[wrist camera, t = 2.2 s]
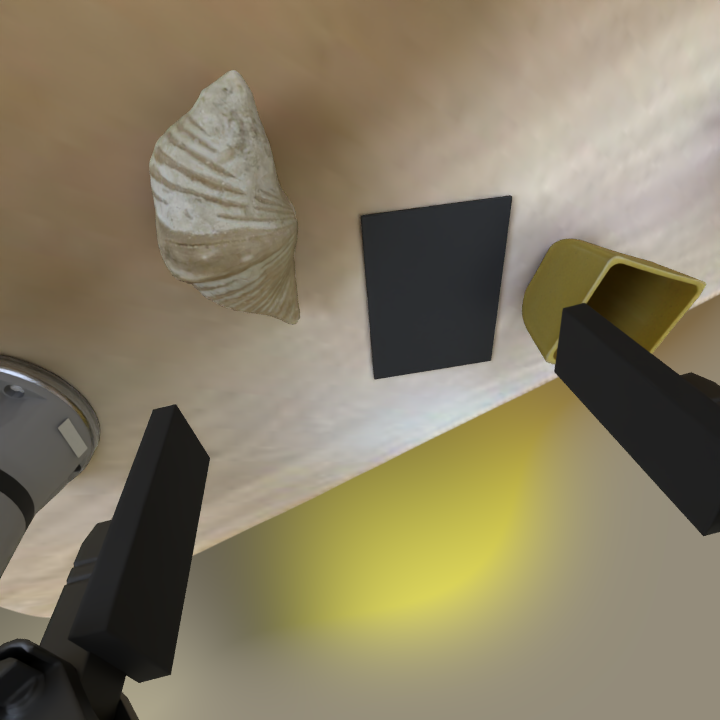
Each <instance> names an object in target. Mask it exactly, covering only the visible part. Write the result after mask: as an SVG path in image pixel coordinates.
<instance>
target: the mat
mask: <svg viewBox="0 0 720 720" xmlns="http://www.w3.org/2000/svg"><path fill="white" fill-rule="evenodd" d="M511 203H512V196H503V197H496V198H488V199H481V200H473V201H466V202H458V203H451V204H443V205H436V206H428V207H421V208H413V209H406V210H398V211H391V212H383V213H376V214H368V215H361V227H362V239H363V251H364V263H365V275H366V287H367V298H368V310H369V322H370V334H371V346H372V358H373V370H374V379H381V378H387V377H393V376H399V375H405V374H411V373H418V372H424V371H430V370H436V369H442V368H448V367H455V366H461V365H467V364H473V363H479V362H485V361H491V356H492V348H493V341H494V333H495V325H496V318H497V310H498V302H499V295H500V287H501V279H502V272H503V264H504V256H505V249H506V241H507V233H508V226H509V218H510V211H511Z"/></svg>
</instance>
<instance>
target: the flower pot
mask: <svg viewBox="0 0 720 720" xmlns="http://www.w3.org/2000/svg"><path fill="white" fill-rule="evenodd" d="M705 286H706V283H705V282H703V281H701V280H698V279H695V278H693V277H690V276H688V275H685V274H682V273H680V272H677V271H674V270H672V269H669V268H667V267H664V266H661V265H659V264H656V263H653V262H651V261H647V260H644V259H640V258H636V257H633V256H629V255H626V254H622V253H619V252H615V251H612V250H609V249H606V248H603V247H600V246H597V245H594V244H591V243H588V242H585V241H581V240H577V239H563V240H560V241H558V242H556V243H554V244H553V245H552V246H551V247H550V248H549V250H548V252H547V254H546V255H545V257H544V259H543V261H542V262H541V264H540V266H539V268H538V270H537V271H536V273H535V275H534V277H533V278H532V280H531V282H530V284H529V285H528V287H527V289H526V291H525V294H524V299H523V304H522V315H523V320H524V324H525V326H526V328H527V330H528V332H529V334H530V336H531V337H532V339H533V341H534V342H535V344H536V346H537V347H538V349H539V350H540V352H541V354H542V355H543V357H544V359H545V361H546V362H548V363H551V364H555V363H556V355H557V348H558V340H559V333H560V325H561V317H562V310H563V308H565V307H570V306H574V305H578V304H582V303H586V304H587V305H589V306H590V307H591V308H592V309H594V310H595V311H596V312H598V313H599V314H600V315H602V316H603V317H604V318H606V319H607V320H608V321H609V322H611V323H612V324H613V325H615V326H616V327H617V328H619V329H620V330H621V331H623V332H624V333H625V334H626V335H628V336H629V337H630V338H632V339H633V340H634V341H636V342H637V343H638V344H640V345H641V346H642V347H643V348H645V349H646V350H647V351H649V352H650V353H651V354H652V353H653V352H654V351H655V349H656V348H657V347H658V346H659V344H660V343H661V342H662V341H663V339H664V338H665V337H666V336H667V334H668V333H669V332H670V331H671V330H672V328H673V327H674V326H675V325H676V324H677V322H678V321H679V320H680V319H681V318H682V316H683V315H684V314H685V313H686V312H687V310H688V309H689V308H690V307H691V306H692V304H693V303H694V302H695V301H696V299H697V298H698V297H699V296H700V294H701V293H702V291H703V289H704V288H705Z"/></svg>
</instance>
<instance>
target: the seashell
mask: <svg viewBox="0 0 720 720" xmlns="http://www.w3.org/2000/svg"><path fill="white" fill-rule="evenodd" d="M149 172H150V176H151V190H152V194H153V198H154V207H155V210H156V220H155V221H156V230H157V239H158V245H159V249H160V252H161V255H162V258H163V260H164V262H165V264H166V266H167V268H168V269H169V270H170V272H171V273H172V275H173V276H174V277H175V278H176V279H178V280H180V281H183V282H186V283H189V284H192V285H193V286H194V287H195V288H196V289H197V290H199V291H200V292H201V293H202V295H203V296H204V297H206V298H207V299H209V300H212V301H214V302H215V303H217V304H218V305H220V306H222V307H227V308H231V309H233V310H236V311H242V312H246V313H256V314H263V315H267V316H272V317H275V318H277V319H280V320H282V321H284V322H286V323H288V324H292V325H294V324H296V323H297V322H298V320H299V318H300V309H299V303H298V295H297V285H296V278H295V261H294V252H295V247H296V242H297V233H298V222H297V219H296V216H295V209H294V207H293V205H292V203H291V201H290V200H289V198H288V197H287V195H286V194H285V192H284V191H283V190H282V189H281V186H280V183H279V180H278V177H277V173H276V169H275V164H274V160H273V155H272V151H271V148H270V144H269V140H268V138H267V136H266V134H265V131H264V128H263V125H262V123H261V121H260V118H259V115H258V111H257V108H256V105H255V101H254V98H253V94H252V92H251V90H250V88H249V87H248V85H247V83H246V82H245V80H244V79H243V77H242V76H241V75H240V74H239V73H238V72H237V71H235V70H232V71H229V72H227V73H226V74H224V75H223V76H222V77H220V78H219V79H218V80H216V81H215V82H214V83H212V84H211V85H209V86H208V87H206V88H205V89H203V90H202V92H201V94H200V96H199V98H198V100H197V101H196V103H195V105H194V106H193V108H192V109H191V110H190V111H189V112H188V113H186V114H185V115H184V116H182V117H181V118H180V119H179V120H178V121H177V122H176V123H175V124H173V125H172V126H171V127H169V128H168V129H167V131H166V132H165V133H164V134H163V135H162V136H161V137H160V138H159V139H158V141H157V143H156V145H155V148H154V151H153V154H152V157H151V159H150V162H149Z"/></svg>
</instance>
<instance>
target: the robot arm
mask: <svg viewBox="0 0 720 720" xmlns="http://www.w3.org/2000/svg"><path fill="white" fill-rule="evenodd" d="M554 372H555V373H556V374H557V375H558V376H559V377H560V379H562V381H563V382H564V383H565V384H566V385H567V386H568V387H569V388H570V390H571V391H572V392H573V393H574V394H575V395H576V396H577V397H578V398H579V399H580V401H581V402H582V403H583V404H584V405H585V406H586V407H587V408H588V409H589V410H590V412H591V413H592V414H593V415H594V416H595V417H596V418H597V419H598V420H599V422H600V423H601V424H602V425H603V426H604V427H605V428H606V429H607V430H608V431H609V433H610V434H611V435H612V436H613V437H614V438H615V439H616V440H617V441H618V442H619V444H620V445H621V446H622V447H623V448H624V449H625V450H626V451H627V452H628V454H629V455H631V457H632V458H633V459H634V460H635V461H636V462H637V463H638V465H640V467H641V468H642V469H643V470H644V471H645V472H646V473H647V474H648V476H649V477H650V478H651V479H652V480H653V481H654V482H655V483H656V484H657V486H659V488H660V489H661V490H662V491H663V492H664V493H665V494H666V495H667V497H668V498H669V499H670V500H671V501H672V502H673V503H674V504H675V505H676V506H677V508H678V509H679V510H680V511H681V512H682V513H683V514H684V515H685V516H686V517H687V519H688V520H689V521H690V522H691V523H692V524H693V525H694V526H695V527H696V528H697V530H698V531H699V532H700V533H701V534H702V535H703V536H706V535H710V534H713V533H717V532H720V386H719V385H717V384H716V383H715V382H713V381H711V380H708V379H706V378H703V377H701V376H699V375H696V374H694V373H688V374H683V375H679V374H677V373H676V372H675V371H673V370H672V369H671V368H670V367H668V366H667V365H666V364H664V363H663V362H662V361H660V360H659V359H658V358H656V357H655V356H654V355H653V354H651V353H650V352H649V351H647V350H646V349H645V348H643V347H642V346H641V345H640V344H638V343H637V342H636V341H634V340H633V339H632V338H630V337H629V336H628V335H626V334H625V333H624V332H623V331H621V330H620V329H619V328H617V327H616V326H615V325H613V324H612V323H611V322H609V321H608V320H607V319H606V318H604V317H603V316H602V315H600V314H599V313H598V312H596V311H595V310H594V309H592V308H591V307H590V306H589V305H587V304H586V303H582V304H578V305H574V306H570V307H565V308H563V310H562V317H561V325H560V333H559V340H558V348H557V355H556V363H555V370H554ZM99 438H100V427H99V422H98V419H97V417H96V414H95V412H94V410H93V409H92V407H91V406H90V404H89V403H88V402H87V400H86V399H85V398H84V397H83V396H82V395H81V394H80V393H79V392H78V391H77V390H76V389H74V388H73V387H72V386H71V385H69V384H68V383H67V382H65V381H64V380H62V379H61V378H59V377H57V376H56V375H54V374H52V373H50V372H48V371H46V370H44V369H42V368H40V367H38V366H35V365H33V364H30V363H27V362H25V361H22V360H18V359H15V358H11V357H7V356H3V355H0V578H1V576H2V574H3V572H4V571H5V569H6V567H7V565H8V563H9V561H10V559H11V558H12V556H13V554H14V552H15V550H16V548H17V546H18V544H19V543H20V541H21V539H22V537H23V535H24V533H25V532H26V530H27V528H28V526H29V524H30V523H31V521H32V519H33V517H34V516H35V514H36V513H37V512H38V511H39V510H40V509H41V508H43V507H44V506H45V505H46V504H47V503H48V502H49V501H50V500H51V499H52V498H53V497H54V496H56V495H57V494H58V493H59V492H60V491H61V490H62V489H63V488H64V487H65V486H66V484H67V483H68V482H70V481H71V480H73V479H74V478H75V477H76V476H77V475H78V474H80V473H81V472H82V471H83V470H84V469H85V467H86V466H87V465H88V463H89V461H90V459H91V457H92V455H93V453H94V451H95V449H96V447H97V445H98V442H99ZM209 461H210V457H209V456H208V454H207V452H206V451H205V449H204V448H203V446H202V445H201V443H200V441H199V440H198V438H197V437H196V435H195V433H194V432H193V430H192V429H191V427H190V425H189V424H188V422H187V421H186V419H185V418H184V416H183V414H182V413H181V411H180V410H179V408H178V406H177V405H176V404H175V405H171V406H166V407H162V408H158V409H154V410H153V411H152V414H151V417H150V419H149V422H148V425H147V427H146V430H145V433H144V435H143V438H142V441H141V443H140V446H139V449H138V451H137V454H136V457H135V459H134V462H133V465H132V467H131V470H130V473H129V475H128V478H127V481H126V483H125V486H124V489H123V491H122V494H121V497H120V499H119V502H118V505H117V507H116V510H115V513H114V515H113V518H112V520H109V521H105V522H101V523H97V524H96V526H95V527H94V528H93V530H92V531H91V532H90V534H89V535H88V536H87V538H86V539H85V540H84V542H83V543H82V545H81V547H80V550H79V552H78V555H77V557H76V559H75V562H74V568H72V569H71V571H70V574H69V576H68V578H67V585H65V586H64V588H63V590H62V593H61V595H60V598H59V600H58V602H57V605H56V607H55V609H54V612H53V614H52V617H51V619H50V622H49V624H48V626H47V629H46V631H45V634H44V636H43V638H42V641H41V643H40V645H37V644H35V643H33V642H31V641H30V640H27V639H15V640H12V641H10V642H7V643H4V644H3V645H1V646H0V720H139V719H138V717H137V715H136V713H135V711H134V710H133V707H132V705H131V703H130V701H129V699H128V698H127V697H126V696H125V695H124V694H123V693H122V689H123V685H124V681H125V677H126V675H127V676H128V677H130V678H132V679H133V680H135V681H137V682H138V683H141V682H144V681H148V680H152V679H156V678H160V677H163V676H167V675H171V671H172V665H173V659H174V654H175V648H176V643H177V637H178V632H179V626H180V621H181V615H182V610H183V604H184V599H185V593H186V588H187V582H188V577H189V571H190V565H191V560H192V555H193V549H194V544H195V538H196V533H197V527H198V522H199V516H200V511H201V505H202V500H203V494H204V489H205V483H206V478H207V472H208V467H209Z"/></svg>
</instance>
